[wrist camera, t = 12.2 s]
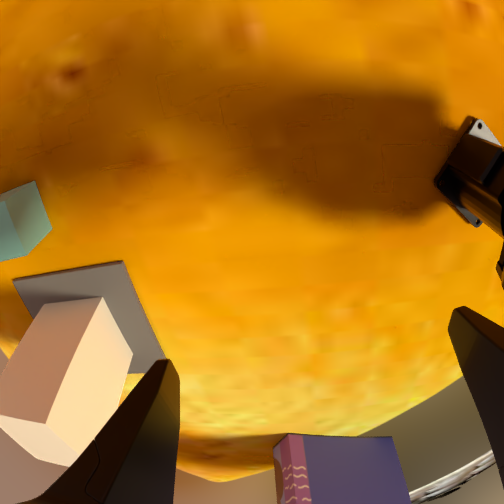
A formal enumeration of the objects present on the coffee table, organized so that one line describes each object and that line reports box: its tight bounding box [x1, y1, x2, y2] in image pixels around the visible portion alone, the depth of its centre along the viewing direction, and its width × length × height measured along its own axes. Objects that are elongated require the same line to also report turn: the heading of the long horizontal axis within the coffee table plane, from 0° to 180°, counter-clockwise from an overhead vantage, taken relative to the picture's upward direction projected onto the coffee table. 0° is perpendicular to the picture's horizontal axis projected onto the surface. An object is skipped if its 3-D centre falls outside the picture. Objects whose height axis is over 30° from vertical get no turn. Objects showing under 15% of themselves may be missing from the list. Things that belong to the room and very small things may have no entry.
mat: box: [13, 261, 166, 374], centre depth 25 cm, size 12×12×1 cm
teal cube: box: [0, 181, 52, 262], centre depth 18 cm, size 4×4×4 cm
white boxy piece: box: [0, 297, 133, 467], centre depth 20 cm, size 7×7×12 cm
